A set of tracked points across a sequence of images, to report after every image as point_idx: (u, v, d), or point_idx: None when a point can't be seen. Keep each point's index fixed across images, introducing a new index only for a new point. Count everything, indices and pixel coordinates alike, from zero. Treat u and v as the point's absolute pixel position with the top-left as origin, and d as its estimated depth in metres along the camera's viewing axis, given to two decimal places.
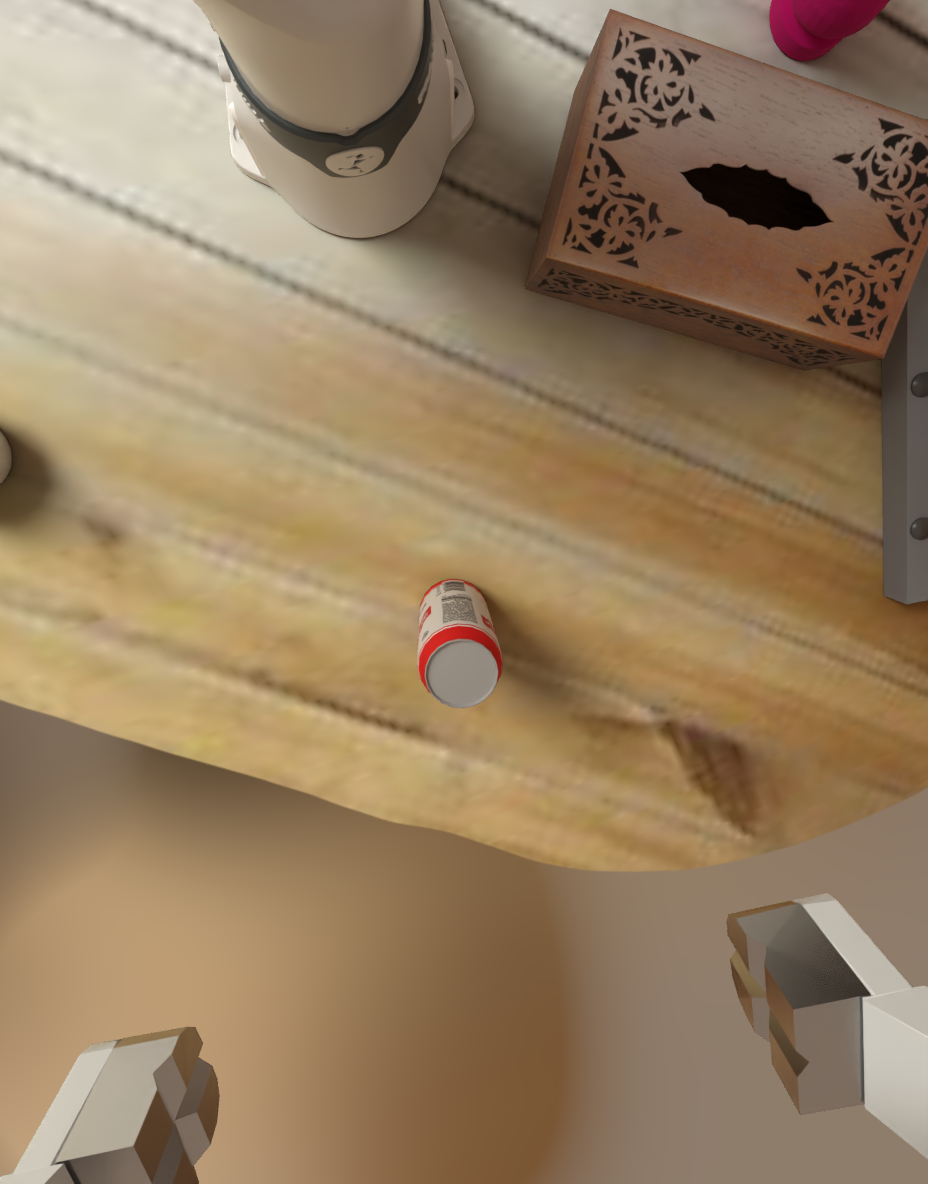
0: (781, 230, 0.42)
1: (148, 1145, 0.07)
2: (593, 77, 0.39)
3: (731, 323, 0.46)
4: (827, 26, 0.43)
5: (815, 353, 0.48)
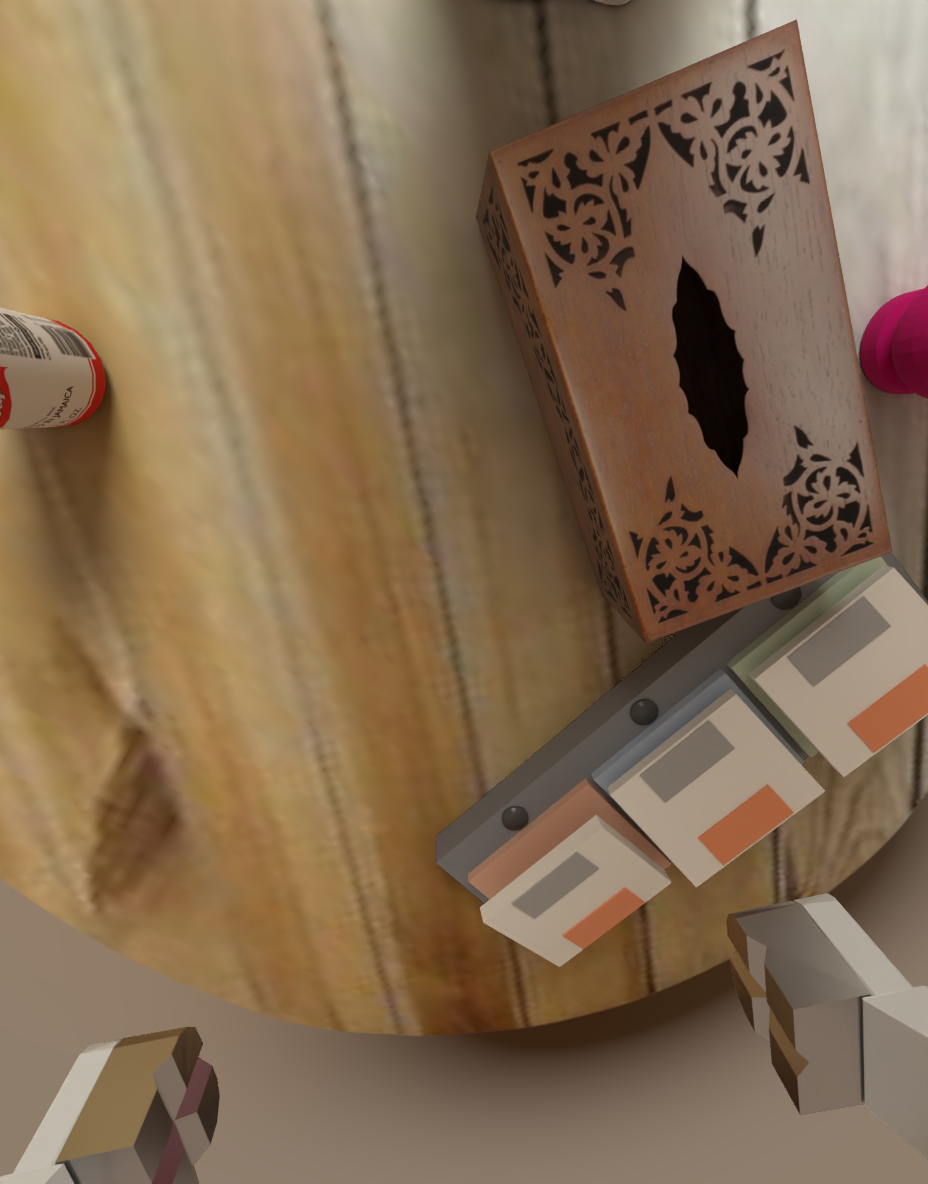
0: (695, 428, 0.32)
1: (148, 1145, 0.07)
2: (716, 56, 0.27)
3: (578, 460, 0.34)
4: (906, 351, 0.36)
5: (612, 579, 0.38)
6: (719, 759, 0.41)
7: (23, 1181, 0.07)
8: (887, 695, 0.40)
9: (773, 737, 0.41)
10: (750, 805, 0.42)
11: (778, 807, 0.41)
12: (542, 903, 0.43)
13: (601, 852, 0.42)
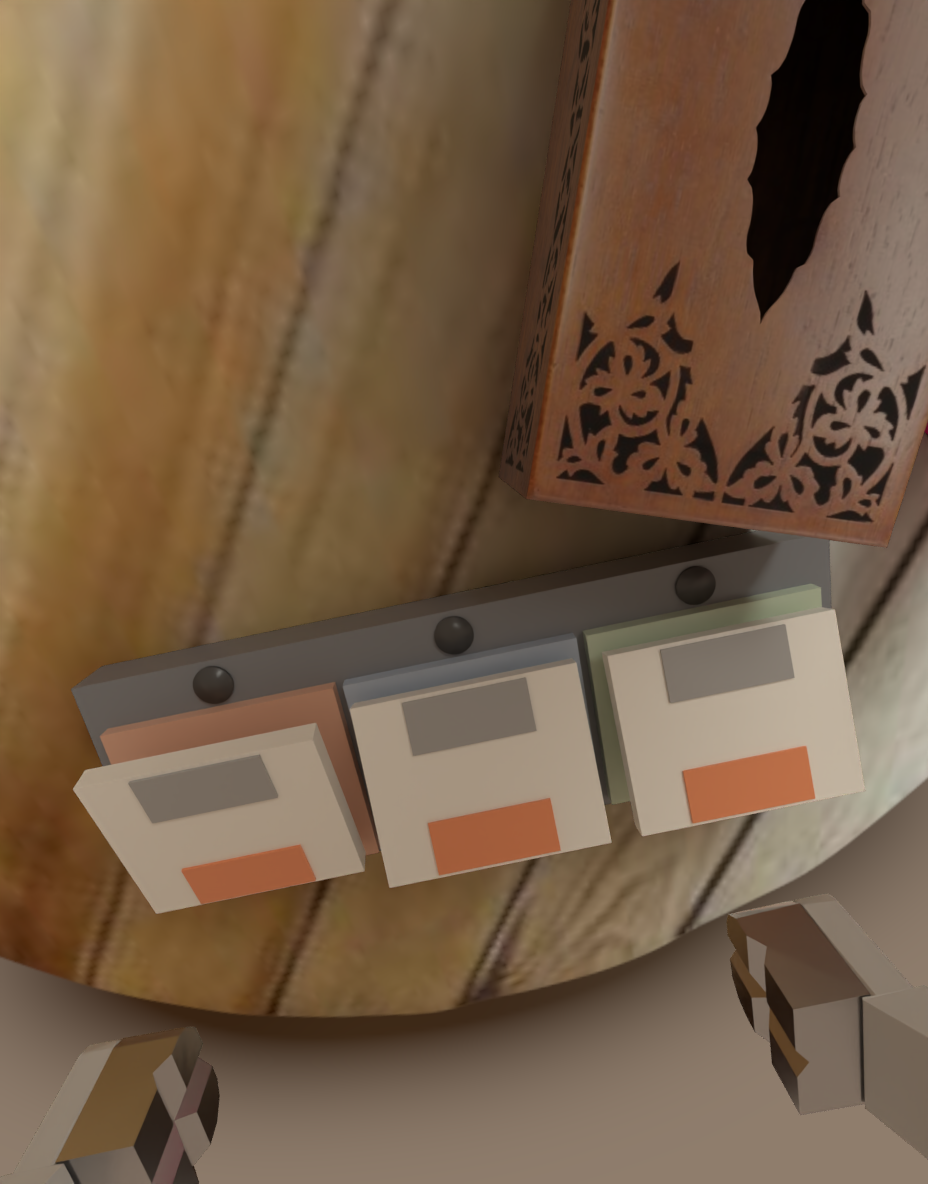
0: (745, 211, 0.21)
1: (148, 1145, 0.07)
2: None
3: (565, 196, 0.22)
4: None
5: (524, 416, 0.26)
6: (510, 734, 0.29)
7: (23, 1181, 0.07)
8: (745, 760, 0.29)
9: (589, 742, 0.29)
10: (514, 814, 0.29)
11: (546, 834, 0.29)
12: (173, 805, 0.28)
13: (293, 776, 0.28)
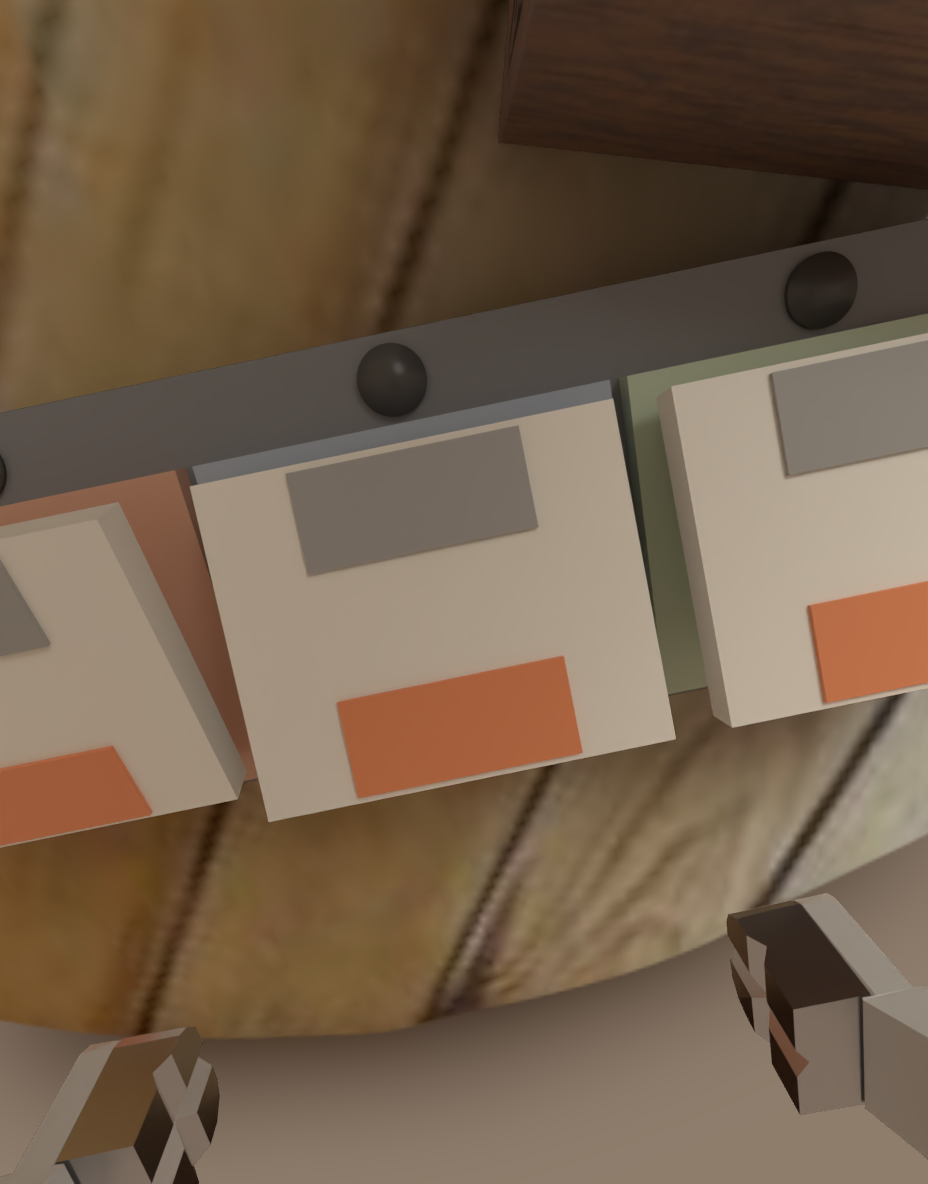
0: None
1: (148, 1145, 0.07)
2: None
3: None
4: None
5: None
6: (489, 533, 0.16)
7: (23, 1181, 0.07)
8: (925, 585, 0.16)
9: (636, 550, 0.16)
10: (497, 684, 0.16)
11: (556, 722, 0.16)
12: None
13: (72, 601, 0.15)
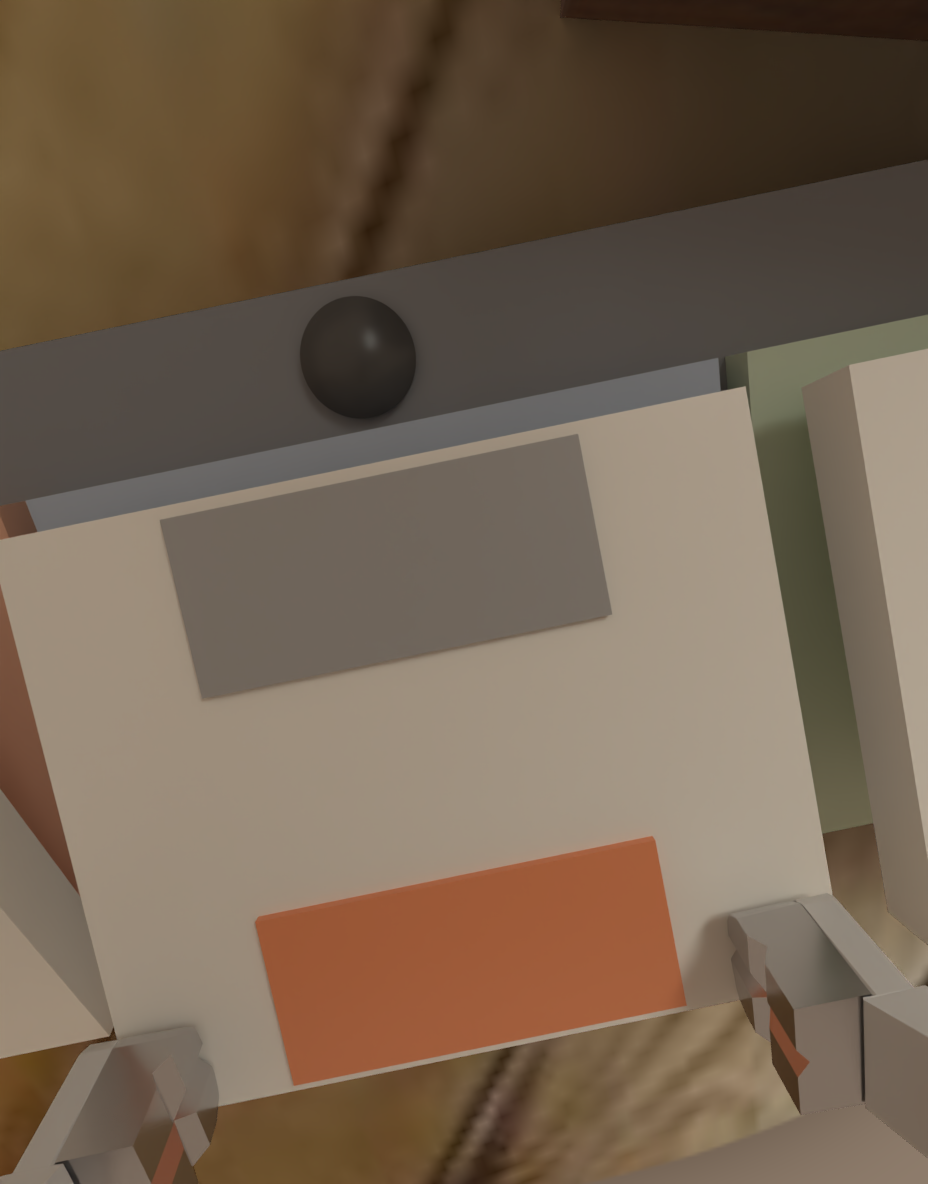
0: None
1: (148, 1145, 0.07)
2: None
3: None
4: None
5: None
6: (525, 625, 0.09)
7: (22, 1181, 0.07)
8: None
9: (782, 654, 0.09)
10: (538, 889, 0.09)
11: (640, 953, 0.09)
12: None
13: None
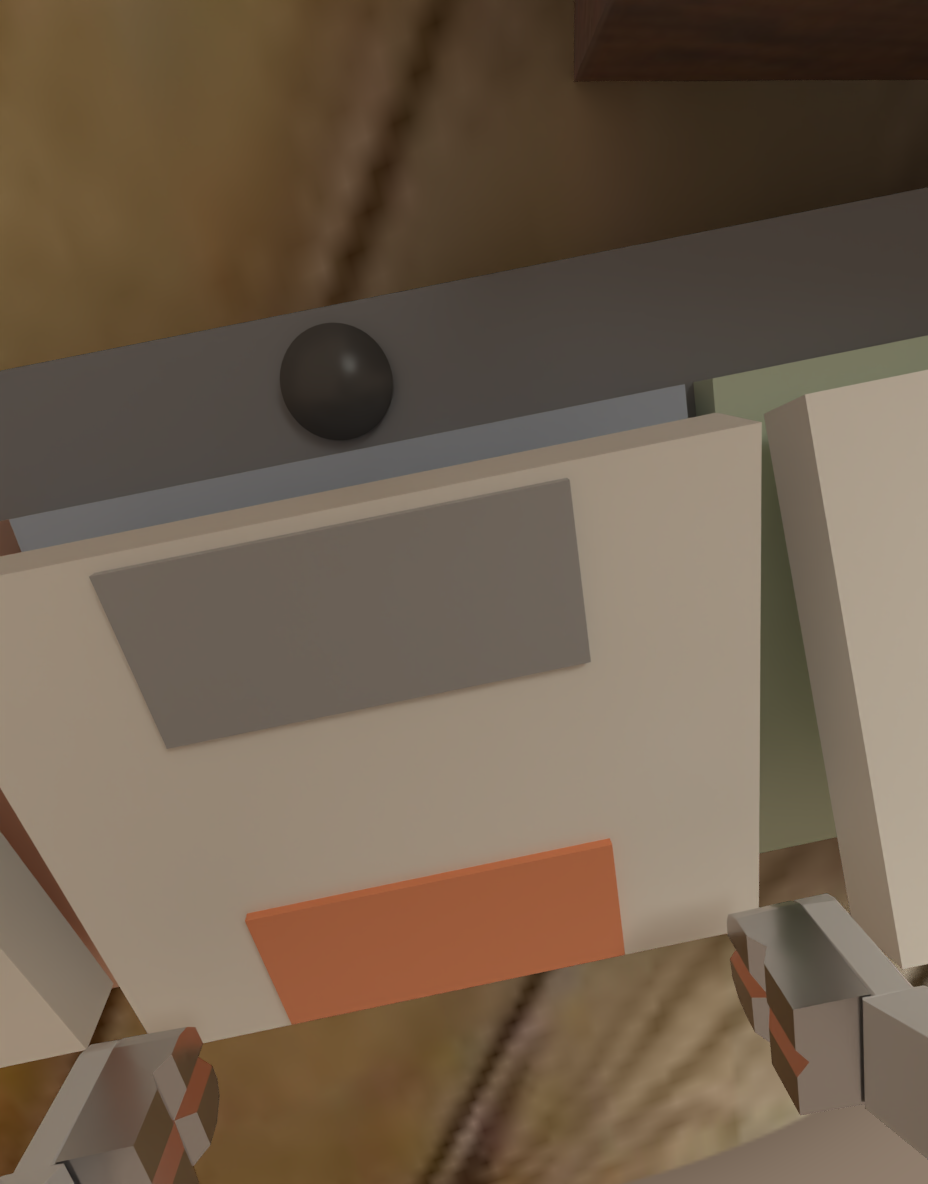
0: None
1: (148, 1145, 0.07)
2: None
3: None
4: None
5: None
6: (502, 674, 0.08)
7: (23, 1181, 0.07)
8: None
9: (751, 689, 0.09)
10: (504, 884, 0.10)
11: (590, 923, 0.10)
12: None
13: None
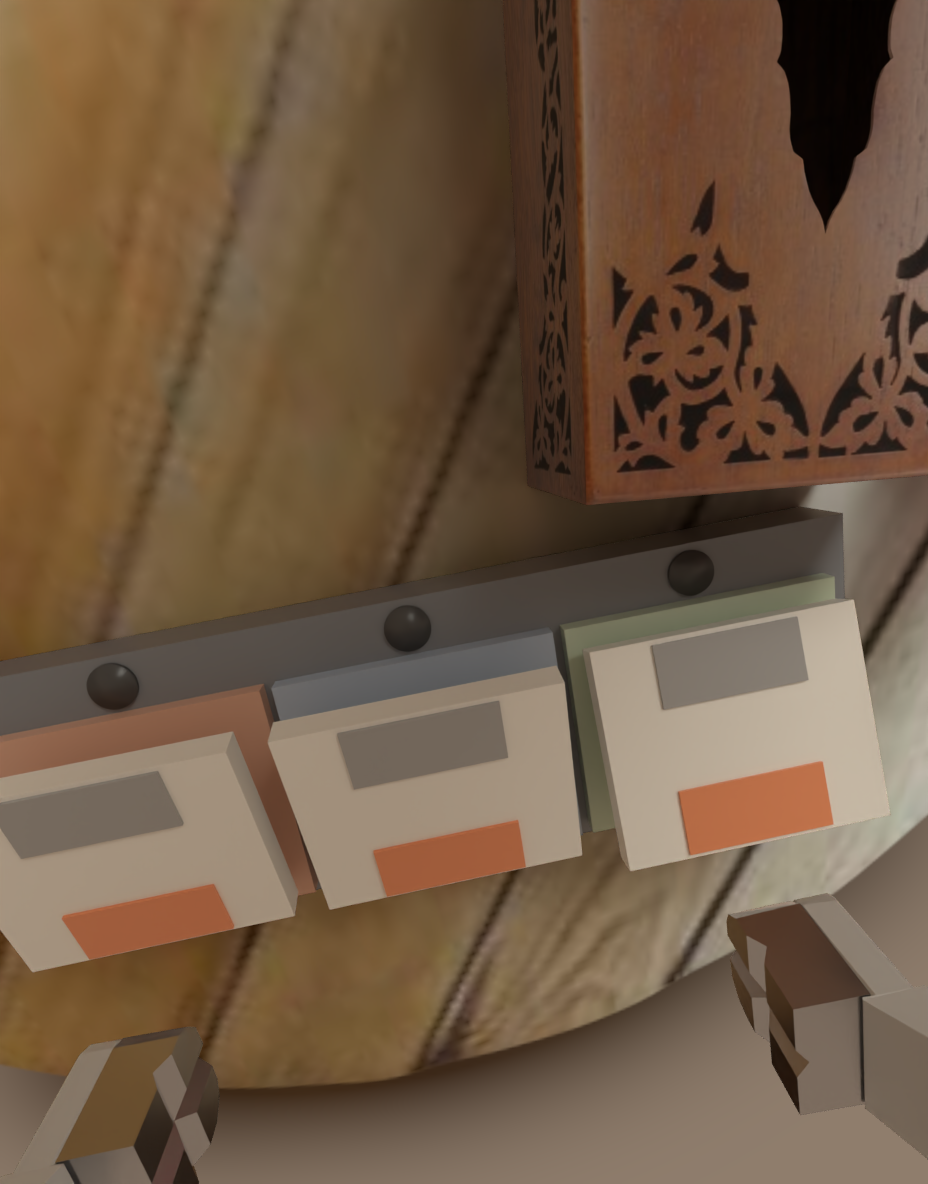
0: (781, 102, 0.17)
1: (148, 1145, 0.07)
2: None
3: (553, 141, 0.19)
4: None
5: (554, 410, 0.22)
6: (476, 762, 0.23)
7: (23, 1181, 0.07)
8: (751, 778, 0.25)
9: (569, 764, 0.24)
10: (476, 838, 0.25)
11: (511, 853, 0.26)
12: (47, 836, 0.22)
13: (201, 798, 0.23)
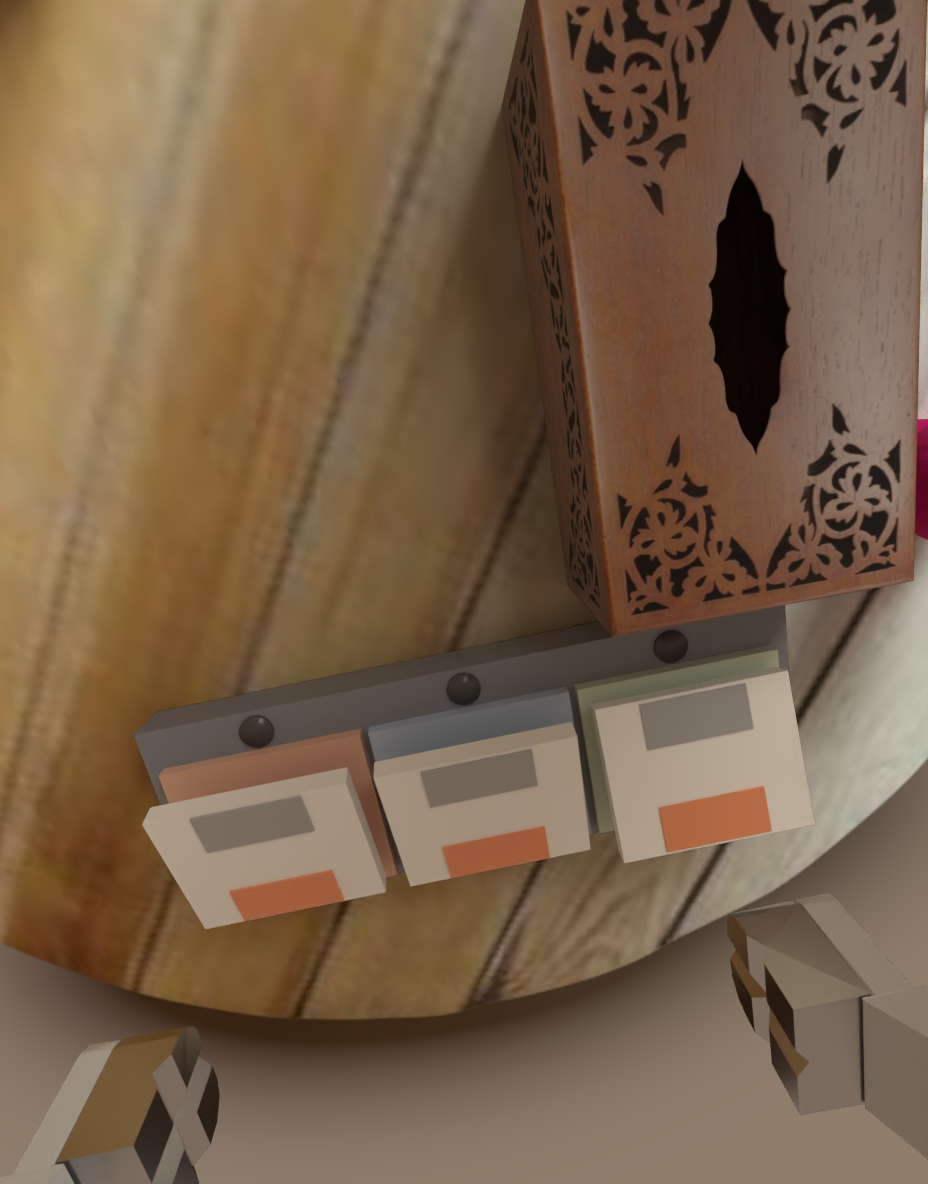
0: (718, 382, 0.26)
1: (148, 1145, 0.07)
2: None
3: (571, 402, 0.28)
4: None
5: (585, 559, 0.31)
6: (515, 789, 0.33)
7: (23, 1181, 0.07)
8: (712, 798, 0.34)
9: (581, 789, 0.34)
10: (514, 838, 0.35)
11: (539, 849, 0.36)
12: (226, 838, 0.33)
13: (327, 813, 0.33)
